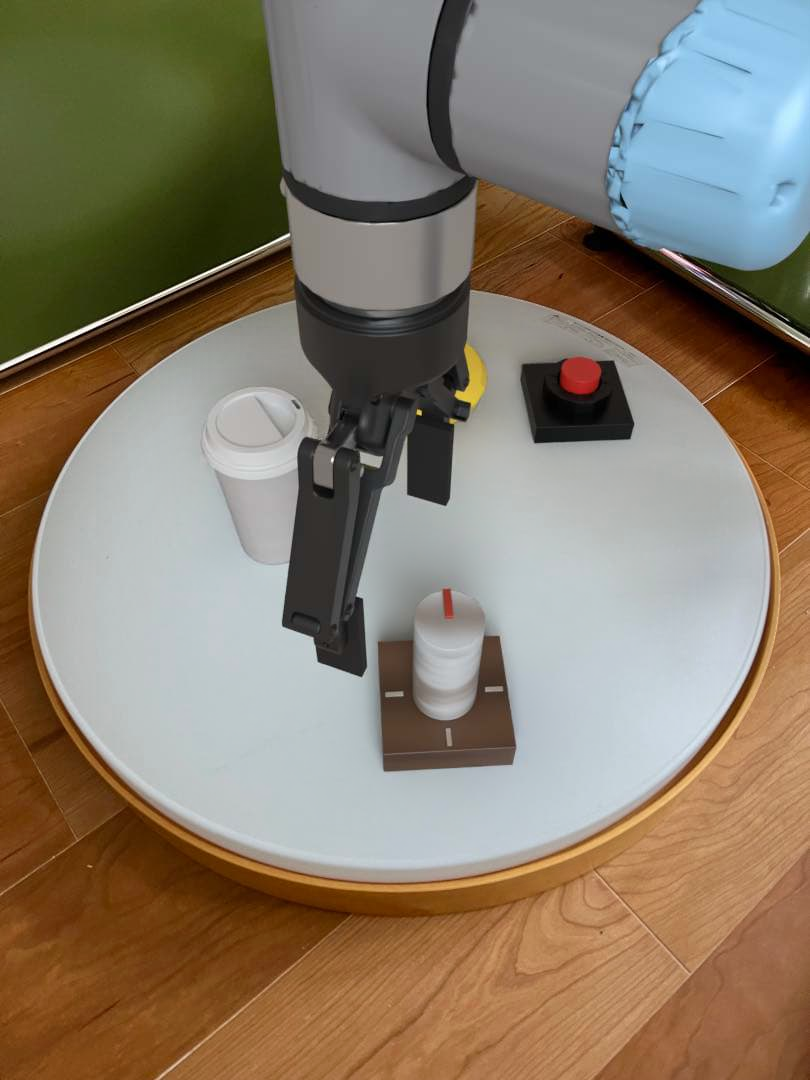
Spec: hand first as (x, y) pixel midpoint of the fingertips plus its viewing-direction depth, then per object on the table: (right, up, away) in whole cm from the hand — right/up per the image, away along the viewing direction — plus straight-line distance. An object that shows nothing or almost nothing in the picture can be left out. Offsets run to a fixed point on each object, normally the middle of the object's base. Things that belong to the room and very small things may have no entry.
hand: (388, 574), depth 54 cm
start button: (+19, +18, +38) cm, 47 cm away
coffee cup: (-11, +2, +30) cm, 32 cm away
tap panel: (+4, -12, +18) cm, 22 cm away
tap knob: (+4, -10, +16) cm, 19 cm away
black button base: (+19, +16, +41) cm, 48 cm away
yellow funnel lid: (+2, +17, +42) cm, 46 cm away
